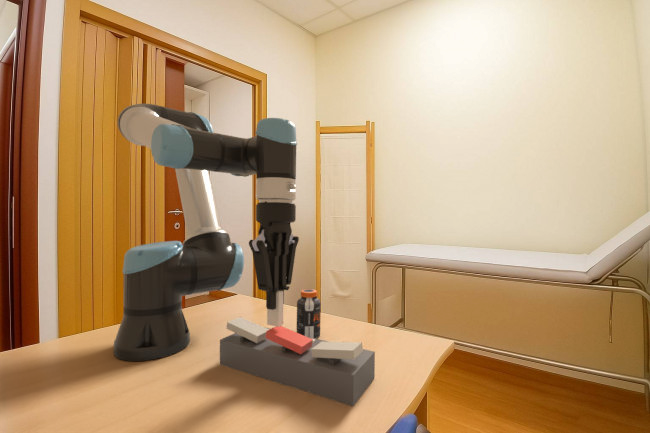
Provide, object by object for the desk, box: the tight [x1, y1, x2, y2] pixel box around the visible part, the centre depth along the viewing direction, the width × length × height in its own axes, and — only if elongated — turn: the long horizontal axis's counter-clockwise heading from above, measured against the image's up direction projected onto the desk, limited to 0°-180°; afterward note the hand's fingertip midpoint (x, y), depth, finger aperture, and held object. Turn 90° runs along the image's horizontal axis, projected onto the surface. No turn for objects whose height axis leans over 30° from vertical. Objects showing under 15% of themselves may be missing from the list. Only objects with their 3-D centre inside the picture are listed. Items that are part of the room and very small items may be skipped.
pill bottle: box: [296, 288, 322, 339], centre depth 81 cm, size 6×6×11 cm
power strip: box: [219, 326, 376, 407], centre depth 63 cm, size 29×10×6 cm, turn 62°
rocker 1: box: [226, 316, 269, 343], centre depth 66 cm, size 8×4×1 cm, turn 62°
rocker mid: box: [266, 325, 313, 354], centre depth 61 cm, size 8×4×1 cm, turn 62°
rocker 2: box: [311, 341, 364, 359], centre depth 56 cm, size 8×4×1 cm, turn 62°
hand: (275, 324), depth 62 cm, fingers closed
